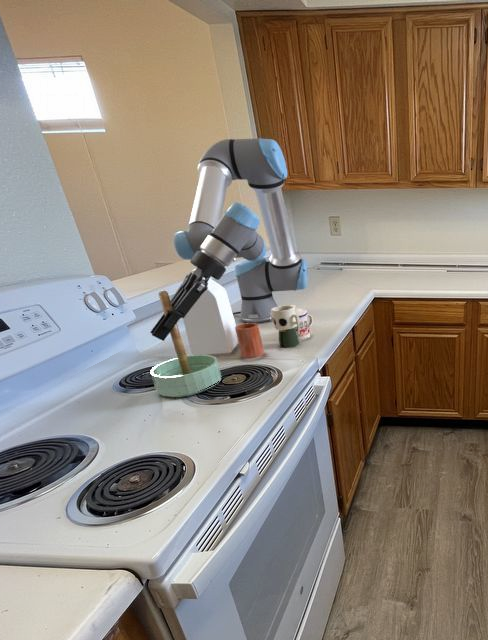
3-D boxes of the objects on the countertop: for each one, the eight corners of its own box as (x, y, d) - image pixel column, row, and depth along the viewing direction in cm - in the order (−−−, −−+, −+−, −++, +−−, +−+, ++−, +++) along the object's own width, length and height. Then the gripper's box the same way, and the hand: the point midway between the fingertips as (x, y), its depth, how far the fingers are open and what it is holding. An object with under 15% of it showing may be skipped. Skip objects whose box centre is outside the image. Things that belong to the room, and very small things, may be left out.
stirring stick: (183, 381, 109) (156, 290, 100) (191, 378, 111) (165, 289, 101) (186, 383, 108) (159, 291, 99) (194, 380, 110) (168, 290, 100)
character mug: (269, 348, 135) (261, 309, 130) (283, 341, 141) (276, 304, 136) (296, 352, 131) (289, 312, 126) (310, 344, 137) (303, 306, 132)
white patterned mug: (295, 344, 139) (289, 310, 134) (278, 339, 143) (271, 306, 139) (322, 334, 148) (318, 301, 143) (305, 330, 152) (300, 299, 148)
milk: (231, 354, 131) (210, 271, 121) (192, 357, 130) (168, 273, 119) (241, 342, 142) (223, 264, 131) (205, 345, 140) (184, 266, 130)
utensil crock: (238, 357, 129) (231, 326, 124) (258, 351, 133) (251, 321, 129) (248, 362, 125) (241, 330, 121) (268, 356, 129) (261, 325, 125)
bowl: (149, 388, 110) (141, 367, 107) (208, 370, 120) (202, 350, 118) (170, 405, 100) (162, 382, 98) (232, 383, 111) (227, 363, 108)
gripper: (235, 271, 102) (177, 351, 99) (219, 265, 113) (167, 337, 110) (206, 251, 97) (144, 335, 94) (192, 246, 107) (137, 322, 105)
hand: (156, 336), depth 102 cm, fingers closed on stirring stick, 2 cm apart
